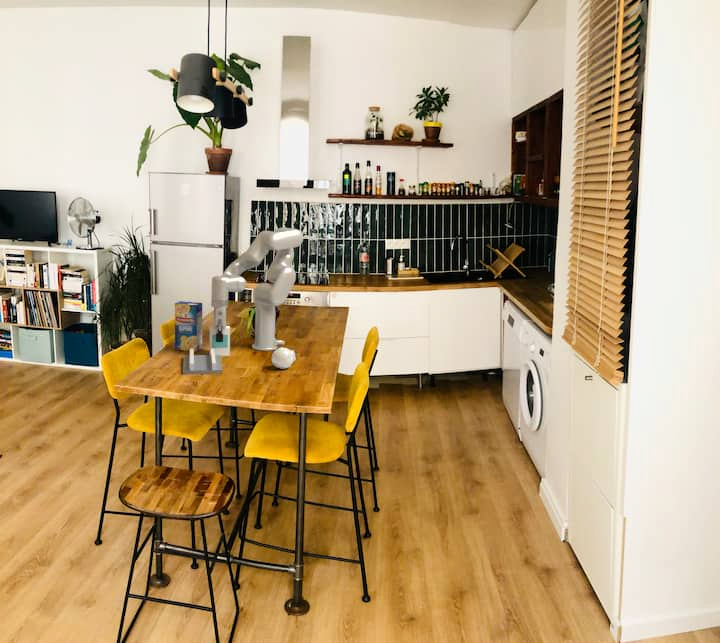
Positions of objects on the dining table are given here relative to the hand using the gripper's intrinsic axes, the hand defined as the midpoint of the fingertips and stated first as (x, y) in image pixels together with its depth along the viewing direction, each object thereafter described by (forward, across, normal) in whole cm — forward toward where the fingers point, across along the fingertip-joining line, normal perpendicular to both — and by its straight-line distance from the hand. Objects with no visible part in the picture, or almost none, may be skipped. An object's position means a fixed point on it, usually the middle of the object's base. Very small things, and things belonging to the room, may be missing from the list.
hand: (219, 339), depth 328 cm
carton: (+7, 0, 0) cm, 7 cm away
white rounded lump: (+7, -24, -28) cm, 37 cm away
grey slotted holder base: (+7, -20, +8) cm, 22 cm away
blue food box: (+7, +12, +14) cm, 20 cm away
